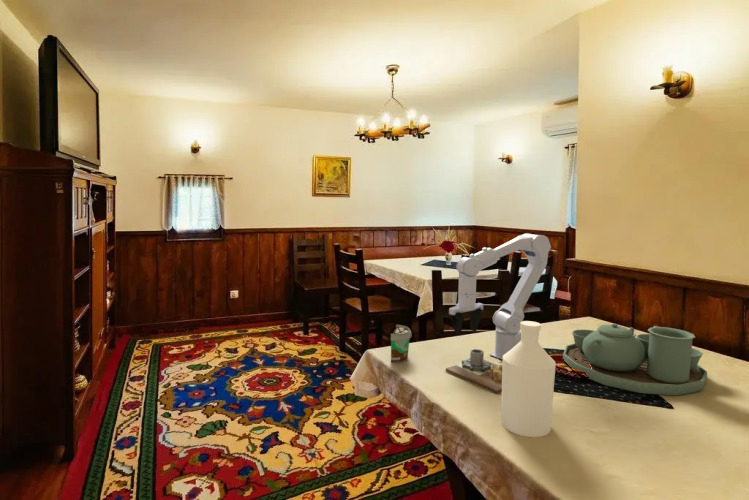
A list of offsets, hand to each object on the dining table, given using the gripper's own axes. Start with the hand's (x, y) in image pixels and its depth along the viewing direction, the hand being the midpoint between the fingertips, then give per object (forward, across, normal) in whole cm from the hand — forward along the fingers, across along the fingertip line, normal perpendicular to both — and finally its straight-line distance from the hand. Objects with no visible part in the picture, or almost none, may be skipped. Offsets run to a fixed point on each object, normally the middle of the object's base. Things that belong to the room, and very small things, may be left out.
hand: (465, 332), depth 148 cm
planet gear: (+8, +4, +9) cm, 13 cm away
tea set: (+10, -38, +36) cm, 53 cm away
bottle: (+10, +21, +39) cm, 45 cm away
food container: (+10, +17, -13) cm, 23 cm away
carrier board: (+9, +5, +14) cm, 18 cm away
